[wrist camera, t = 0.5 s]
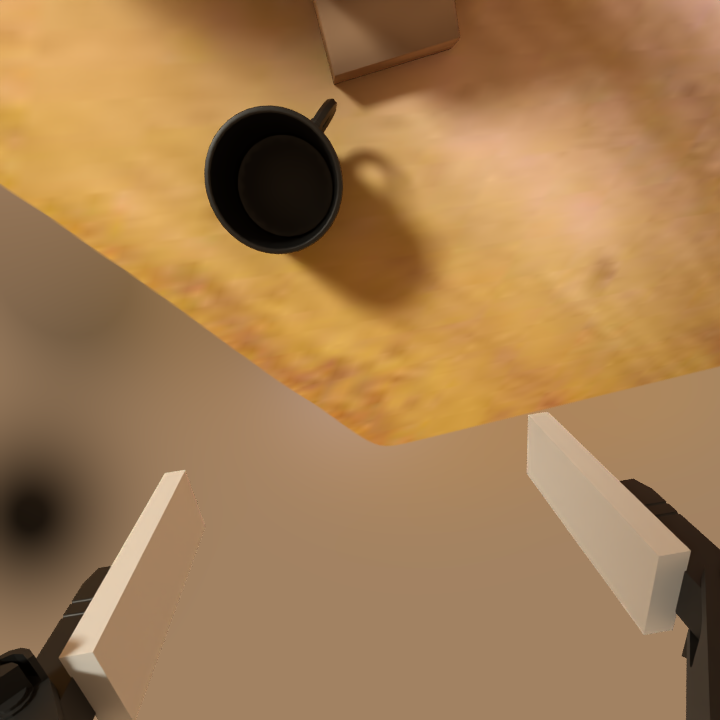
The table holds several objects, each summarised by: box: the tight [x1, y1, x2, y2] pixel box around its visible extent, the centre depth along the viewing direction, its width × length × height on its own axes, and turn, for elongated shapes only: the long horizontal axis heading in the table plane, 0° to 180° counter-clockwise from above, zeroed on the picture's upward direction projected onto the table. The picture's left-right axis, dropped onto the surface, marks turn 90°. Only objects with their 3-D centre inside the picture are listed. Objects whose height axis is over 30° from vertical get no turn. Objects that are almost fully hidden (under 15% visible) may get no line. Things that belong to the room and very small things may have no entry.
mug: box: [204, 99, 343, 254], centre depth 32 cm, size 9×12×9 cm
